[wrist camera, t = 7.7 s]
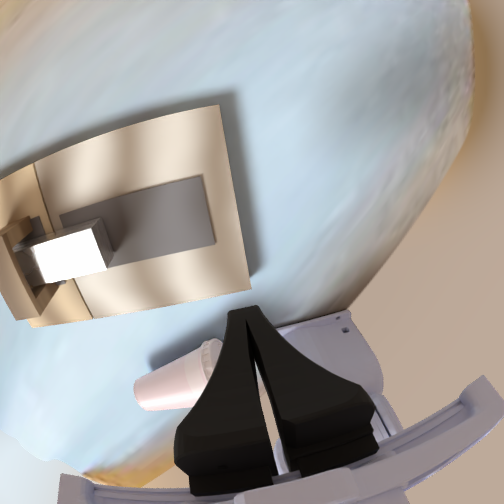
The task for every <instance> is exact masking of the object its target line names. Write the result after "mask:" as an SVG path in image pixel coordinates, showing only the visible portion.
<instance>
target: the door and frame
mask: <svg viewBox="0 0 504 504" xmlns="http://www.w3.org/2000/svg"><path fill="white" fill-rule="evenodd" d="M100 217H102V220H103V223H104V226H105V229H106V232H107V235H108V238H109V241H110V243H111V246H112V249H113V252H114V254H115V255H114V257H113V259H112V261H111V262H110V264H109V266H108V268H107V270H103V271H98V272H94V273H90V274H85V275H81V276H77V277H72V278H68V279H64V280H59V281H55V282H51V283H47V284H42V285H38V286H34V287H30V286H29V284H28V282H27V280H26V278H25V276H24V274H23V272H22V270H21V267H20V265H19V263H18V261H17V258H16V256H15V254H14V251H13V249H12V248H13V247H14V246H15V245H17V244H20V243H22V242H25V241H28V240H31V239H34V238H36V237H39V236H42V235H45V234H48V233H51V232H54V231H57V230H60V229H64V228H67V227H70V226H73V225H76V224H80V223H83V222H86V221H89V220H93V219H96V218H100ZM250 289H252V288H251V283H250V277H249V272H248V266H247V261H246V255H245V250H244V244H243V239H242V233H241V227H240V222H239V216H238V210H237V205H236V199H235V193H234V188H233V182H232V176H231V171H230V165H229V159H228V153H227V147H226V142H225V136H224V130H223V124H222V118H221V112H220V107H219V104H218V105H213V106H207V107H202V108H197V109H192V110H188V111H183V112H179V113H174V114H170V115H166V116H162V117H158V118H154V119H151V120H147V121H143V122H140V123H136V124H133V125H130V126H126V127H123V128H120V129H117V130H114V131H111V132H108V133H105V134H102V135H99V136H96V137H94V138H91V139H88V140H85V141H83V142H80V143H78V144H75V145H73V146H70V147H68V148H65V149H63V150H60V151H58V152H56V153H53V154H51V155H49V156H47V157H45V158H42V159H40V160H38V161H36V162H34V163H32V164H30V165H28V166H26V167H24V168H22V169H20V170H18V171H16V172H14V173H12V174H10V175H8V176H7V177H5V178H3V179H1V180H0V292H1V294H2V296H3V298H4V300H5V302H6V303H7V305H8V307H9V309H10V311H11V312H12V314H13V316H14V317H15V319H16V320H23V319H27V320H28V322H29V323H30V325H31V327H32V328H35V327H43V326H50V325H57V324H64V323H71V322H77V321H84V320H90V319H93V317H94V319H97V318H103V317H109V316H115V315H121V314H127V313H132V312H138V311H144V310H149V309H155V308H160V307H166V306H171V305H176V304H181V303H186V302H192V301H197V300H202V299H207V298H212V297H216V296H221V295H226V294H231V293H236V292H240V291H245V290H250Z"/></svg>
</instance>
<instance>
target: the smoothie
mask: <svg viewBox="0 0 504 504" xmlns="http://www.w3.org/2000/svg"><path fill="white" fill-rule="evenodd" d="M222 345H223V343H222V342H221V341H220V340H219V339H216V338H213V339H211V340H208V341H204V342H203V343H202V345H201V347H200V348H198V349H196V350H194V351H192V352H190V353H188V354H186V355H184V356H182V357H180V358H178V359H176V360H174V361H173V362H171V363H169V364H167V365H165V366H163V367H161V368H158V369H156V370H154V371H152V372H150V373H148V374H146V375H144V376H142V377H140V378H138V379H137V380H136V381H135V383H134V395H135V398H136V400H137V402H138V403H139V405H140V406H141V407H142V408H143V409H145V410H147V411H156V410H168V409H178V408H188V407H193V406H194V405H195V403H196V402H197V400H198V399H199V397H200V395H201V394H202V392H203V390H204V389H205V387H206V385H207V383H208V381H209V379H210V377H211V375H212V373H213V370H214V368H215V365H216V363H217V360H218V357H219V354H220V351H221V348H222ZM254 360H255V359H254Z"/></svg>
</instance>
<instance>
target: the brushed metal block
mask: <svg viewBox="0 0 504 504" xmlns="http://www.w3.org/2000/svg"><path fill="white" fill-rule="evenodd" d="M12 249H13V251H14V254H15V256H16V258H17V261H18V263H19V265H20V267H21V270H22V272H23V274H24V276H25V278H26V280H27V282H28V284H29V286H30V287H34V286H38V285H42V284H47V283H51V282H55V281H59V280H64V279H68V278H72V277H77V276H81V275H85V274H90V273H94V272H98V271H103V270H107V268H108V266H109V264H110V262H111V261H112V259H113V257H114V255H115V254H114V252H113V249H112V246H111V243H110V241H109V238H108V235H107V232H106V229H105V226H104V223H103V220H102V217H100V218H96V219H93V220H89V221H86V222H83V223H80V224H76V225H73V226H70V227H67V228H64V229H60V230H57V231H54V232H51V233H48V234H45V235H42V236H39V237H36V238H34V239H31V240H28V241H25V242H22V243H20V244H17V245H15V246H14V247H13V248H12Z"/></svg>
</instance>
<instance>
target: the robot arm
mask: <svg viewBox="0 0 504 504" xmlns="http://www.w3.org/2000/svg"><path fill="white" fill-rule="evenodd" d="M338 316H339V317H338ZM254 359H255V360H254ZM255 362H256V364H257V367H258V370H259V373H260V375H261V378H262V381H263V383H264V386H265V389H266V391H267V394H268V397H269V400H270V403H271V406H272V410H273V414H274V418H275V421H276V425H277V429H278V432H279V436H280V438H278V439H277V441H276V445H275V447H274V453H273V450H272V446H271V442H270V439H269V435H268V431H267V427H266V423H265V419H264V415H263V411H262V407H261V402H260V396H259V389H258V382H257V374H256V367H255ZM382 392H383V374H382V371H381V367H380V364H379V362H378V360H377V358H376V356H375V354H374V353H373V351H372V350H371V348H370V346H369V345H368V343H367V342H366V340H365V339H364V338H363V336H362V334H361V333H360V332H359V330H358V329H357V327H356V326H355V324H354V323H353V321H352V320H351V312H350V311H349V310H344V311H341V312H337V313H334V314H330V315H327V316H323V317H319V318H316V319H312V320H308V321H304V322H301V323H297V324H293V325H289V326H285V327H281V328H277V329H275V328H274V327H273V326H272V324H271V323H270V322H269V321H268V319H267V318H266V317H265V316H264V314H263V313H262V311H261V309H260V308H259V306H257V305H254V306H250V307H245V308H241V309H236V310H231V311H229V312H228V319H227V327H226V332H225V337H224V341H223V345H222V348H221V351H220V354H219V357H218V360H217V363H216V365H215V368H214V370H213V373H212V375H211V377H210V379H209V381H208V383H207V385H206V387H205V389H204V390H203V392H202V394H201V395H200V397H199V399H198V400H197V402H196V403H195V405H194V406H193V408H192V409H191V411H190V412H189V413H188V414H187V416H186V417H185V418H184V419H183V421H182V422H181V423H180V424H179V426H178V427H177V430H176V434H175V440H174V463H175V464H176V466H177V467H179V468H180V469H181V470H182V471H183V472H185V473H186V474H187V475H188V476H189V485H190V488H167V489H166V488H161V489H160V488H156V489H155V488H131V487H117V486H107V485H99V484H94V483H92V482H91V481H90V480H88V479H86V478H83V477H79V476H74V475H68V474H63V473H62V474H61V477H60V483H59V492H58V502H57V504H409V501H408V499H407V497H406V495H405V493H404V491H406V490H408V489H410V488H411V487H413V486H415V485H417V484H419V483H420V482H422V481H424V480H425V479H427V478H428V477H430V476H432V475H433V474H435V473H436V472H438V471H439V470H441V469H442V468H444V467H445V466H447V465H448V464H450V463H451V462H452V461H454V460H455V459H457V458H458V457H459V456H461V455H462V454H463V453H465V452H466V451H467V450H469V449H470V448H471V447H473V446H474V445H475V444H476V443H478V442H479V441H480V440H481V439H482V438H484V437H485V436H486V435H487V434H488V433H489V432H490V431H491V430H492V429H493V428H494V427H495V426H496V425H497V424H498V423H499V422H500V421H501V420H502V419H503V418H504V400H503V399H502V397H501V396H500V395H499V394H498V392H497V391H496V390H495V388H494V387H493V386H492V385H491V383H490V382H489V381H488V380H487V378H486V377H485V376H484V375H482V376H481V377H479V378H478V379H476V380H475V381H474V382H472V383H471V384H469V385H468V386H467V387H466V388H465V389H464V390H463V392H462V393H461V394H460V396H459V398H458V399H456V400H455V401H453V402H452V403H450V404H449V405H447V406H446V407H444V408H442V409H441V410H439V411H437V412H436V413H434V414H432V415H431V416H429V417H428V418H426V419H424V420H422V421H420V422H418V423H416V424H415V425H413V426H411V427H409V428H407V429H405V430H403V427H402V425H401V423H400V421H399V419H398V417H397V416H396V414H395V412H394V410H393V408H392V407H391V405H390V404H389V402H388V401H387V399H386V398H385V397H384V395H382Z"/></svg>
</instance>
